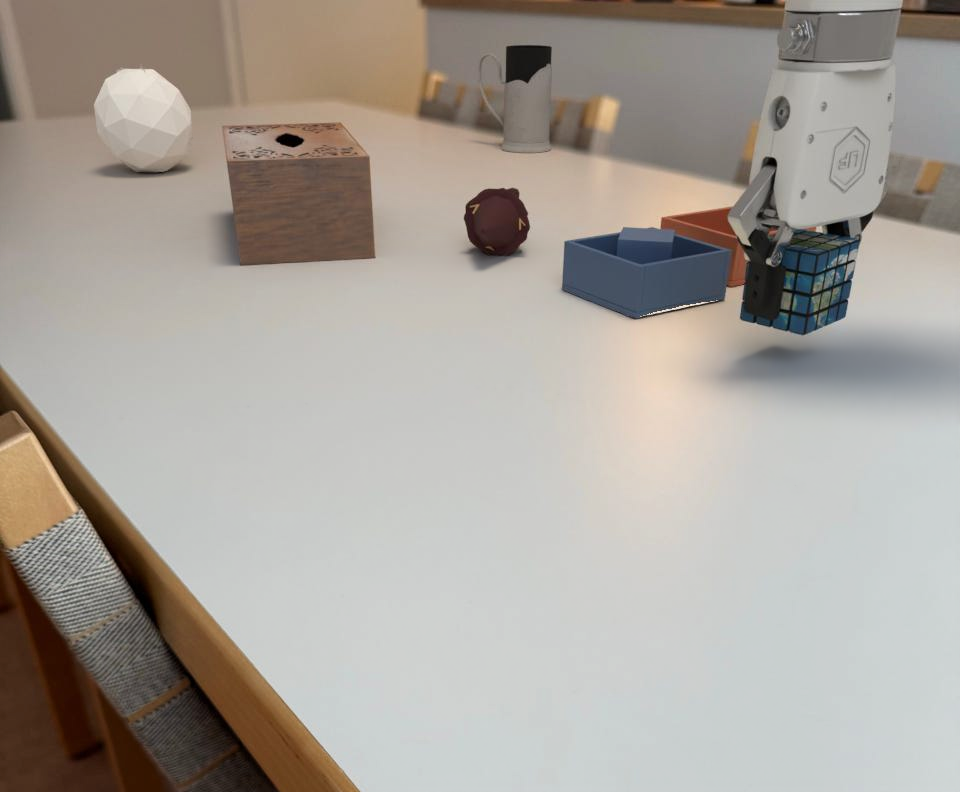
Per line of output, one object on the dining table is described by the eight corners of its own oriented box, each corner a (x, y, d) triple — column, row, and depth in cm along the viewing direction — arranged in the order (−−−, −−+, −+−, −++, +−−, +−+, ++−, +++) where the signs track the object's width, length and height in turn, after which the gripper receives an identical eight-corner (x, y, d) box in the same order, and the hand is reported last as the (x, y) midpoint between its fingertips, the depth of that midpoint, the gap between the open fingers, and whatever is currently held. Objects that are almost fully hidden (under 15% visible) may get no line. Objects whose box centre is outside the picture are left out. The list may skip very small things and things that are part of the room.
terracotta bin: (731, 249, 108) (737, 205, 106) (807, 271, 101) (817, 224, 98) (656, 262, 103) (661, 217, 101) (730, 287, 96) (738, 238, 93)
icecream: (527, 207, 96) (549, 192, 109) (457, 183, 96) (488, 171, 109) (507, 276, 100) (531, 254, 112) (441, 253, 100) (472, 234, 113)
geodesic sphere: (59, 126, 144) (77, 39, 133) (136, 116, 153) (159, 34, 142) (123, 201, 143) (146, 120, 133) (197, 186, 153) (224, 109, 142)
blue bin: (647, 273, 100) (652, 226, 97) (724, 300, 92) (732, 250, 89) (561, 289, 95) (564, 240, 92) (635, 319, 87) (640, 266, 84)
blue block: (618, 280, 95) (623, 226, 93) (669, 283, 95) (675, 229, 92) (613, 294, 91) (617, 238, 89) (666, 297, 91) (672, 241, 88)
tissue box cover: (233, 213, 122) (221, 125, 116) (346, 208, 125) (340, 122, 119) (240, 265, 102) (226, 161, 96) (375, 257, 105) (369, 156, 99)
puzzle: (780, 303, 80) (792, 227, 76) (846, 318, 76) (861, 239, 73) (738, 320, 77) (748, 241, 73) (804, 336, 73) (818, 254, 70)
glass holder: (535, 154, 160) (538, 49, 152) (464, 146, 167) (464, 45, 158) (560, 147, 166) (565, 46, 158) (491, 140, 173) (492, 42, 164)
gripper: (789, 54, 59) (750, 341, 70) (964, 36, 67) (905, 298, 77) (704, 48, 64) (679, 316, 75) (875, 32, 72) (831, 278, 82)
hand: (794, 304), depth 76 cm, fingers closed on puzzle, 6 cm apart
